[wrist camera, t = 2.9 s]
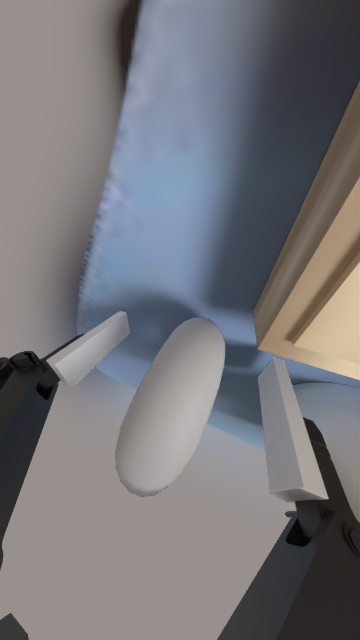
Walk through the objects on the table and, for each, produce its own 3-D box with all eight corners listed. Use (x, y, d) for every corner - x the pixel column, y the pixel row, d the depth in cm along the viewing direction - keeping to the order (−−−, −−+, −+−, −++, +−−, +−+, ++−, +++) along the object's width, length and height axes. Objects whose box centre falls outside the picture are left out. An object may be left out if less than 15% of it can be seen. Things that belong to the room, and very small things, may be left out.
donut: (197, 286, 10) (66, 450, 3) (240, 304, 10) (230, 565, 2) (170, 360, 17) (106, 475, 9) (196, 373, 16) (152, 507, 8)
